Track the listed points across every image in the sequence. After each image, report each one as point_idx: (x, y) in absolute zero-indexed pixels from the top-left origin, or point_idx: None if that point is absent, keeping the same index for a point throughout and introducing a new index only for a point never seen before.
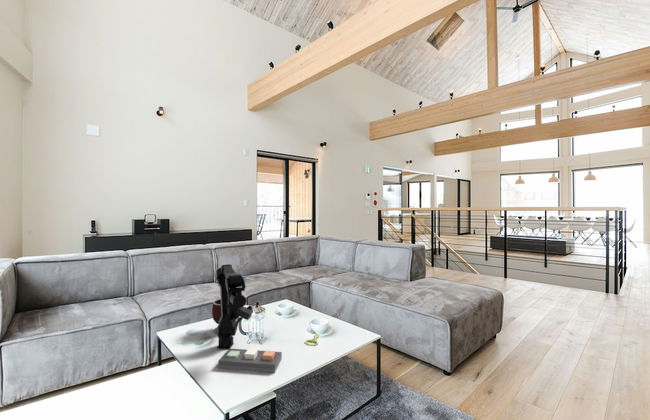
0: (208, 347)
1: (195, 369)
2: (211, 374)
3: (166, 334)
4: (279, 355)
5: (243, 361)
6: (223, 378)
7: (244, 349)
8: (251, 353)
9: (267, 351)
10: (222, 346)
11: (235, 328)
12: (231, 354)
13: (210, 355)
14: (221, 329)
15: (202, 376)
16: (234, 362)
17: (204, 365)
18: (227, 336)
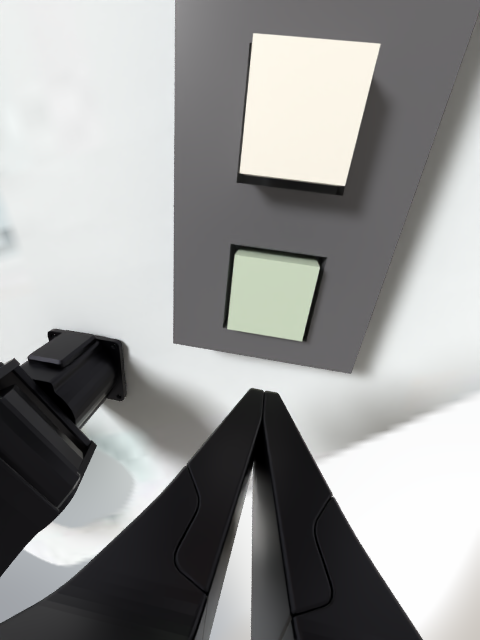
0: (122, 431)
1: (336, 439)
2: (404, 365)
3: (66, 557)
4: None
5: (401, 179)
6: (476, 290)
7: (174, 229)
8: (344, 97)
9: None
10: (114, 380)
11: (323, 515)
12: (291, 310)
13: (197, 408)
14: (64, 493)
15: (416, 400)
16: (388, 259)
17: (299, 413)
18: (61, 397)
